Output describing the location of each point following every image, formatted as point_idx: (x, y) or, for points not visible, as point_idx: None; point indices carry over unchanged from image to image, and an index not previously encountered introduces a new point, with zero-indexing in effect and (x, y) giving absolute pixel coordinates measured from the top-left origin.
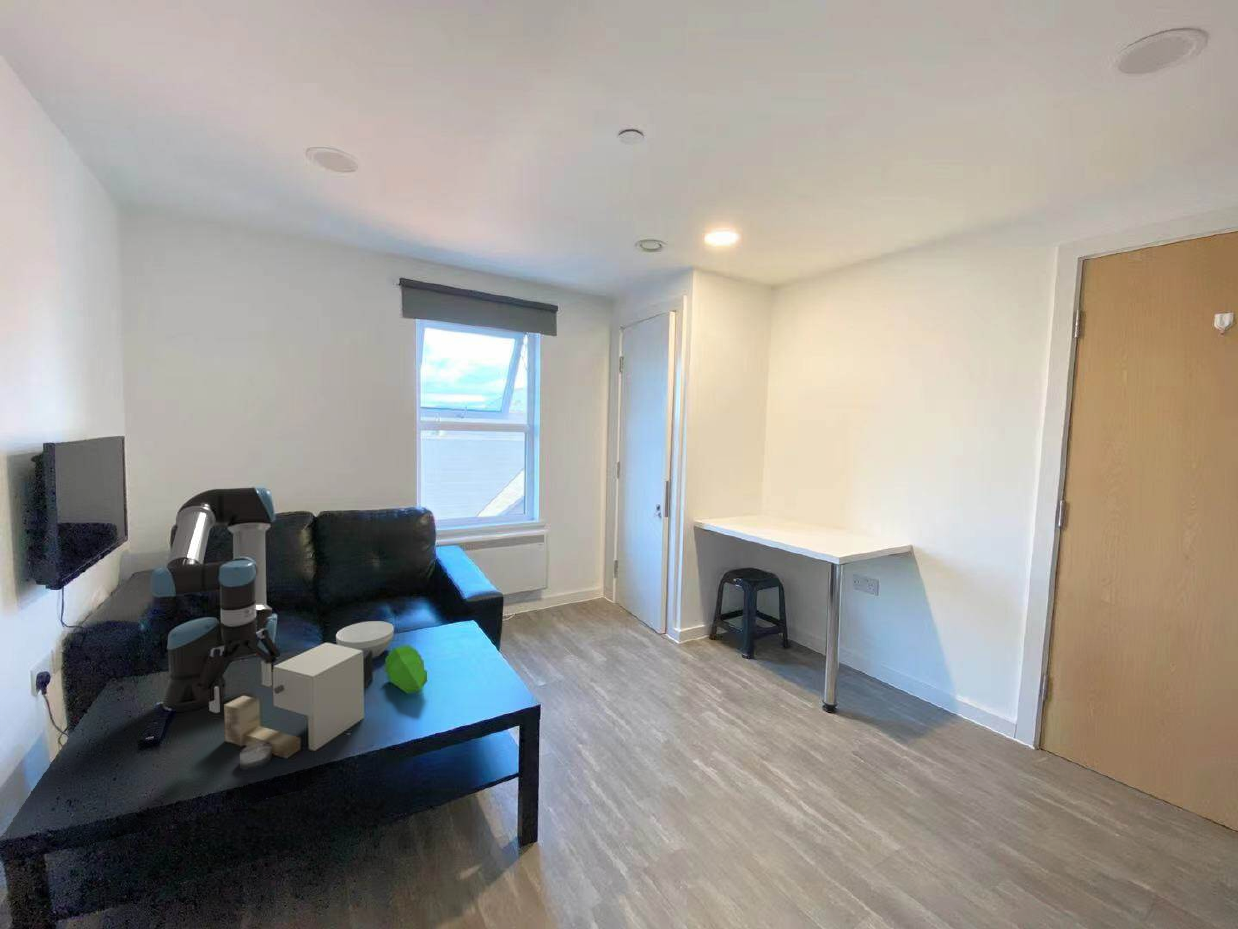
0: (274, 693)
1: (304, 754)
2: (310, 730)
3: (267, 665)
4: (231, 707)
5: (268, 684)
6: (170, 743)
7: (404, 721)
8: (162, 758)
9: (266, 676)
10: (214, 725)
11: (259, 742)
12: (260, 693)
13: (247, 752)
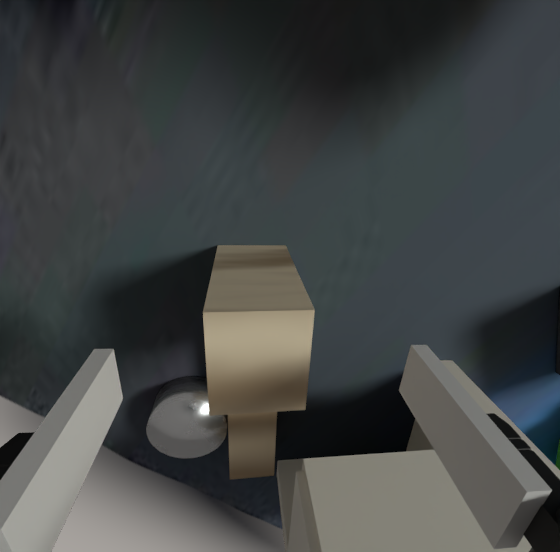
0: (306, 540)
1: None
2: (283, 520)
3: (487, 529)
4: (206, 361)
5: (405, 396)
6: (107, 40)
7: None
8: (40, 130)
9: (434, 424)
10: (272, 94)
11: None
12: (531, 30)
13: (168, 424)
